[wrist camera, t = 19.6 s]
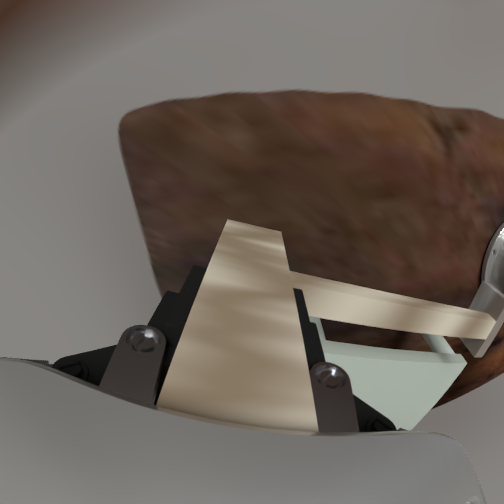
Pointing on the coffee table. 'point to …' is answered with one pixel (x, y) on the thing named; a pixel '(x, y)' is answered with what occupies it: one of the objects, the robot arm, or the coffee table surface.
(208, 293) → the hoe
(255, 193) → the coffee table surface
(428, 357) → the stand
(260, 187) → the coffee table surface
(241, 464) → the robot arm
